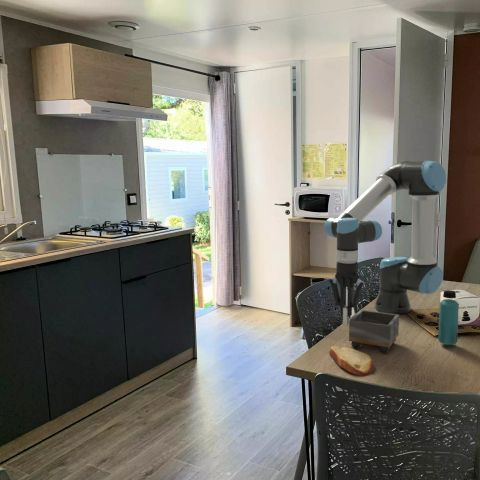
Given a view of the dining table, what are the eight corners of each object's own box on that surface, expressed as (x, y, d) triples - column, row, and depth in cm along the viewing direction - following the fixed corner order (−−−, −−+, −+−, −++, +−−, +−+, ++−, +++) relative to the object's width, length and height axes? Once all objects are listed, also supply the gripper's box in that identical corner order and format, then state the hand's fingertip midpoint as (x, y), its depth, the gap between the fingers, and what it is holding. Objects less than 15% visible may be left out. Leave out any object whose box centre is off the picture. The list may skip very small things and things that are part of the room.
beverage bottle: (459, 349, 174) (462, 293, 171) (439, 348, 176) (441, 293, 173) (455, 342, 181) (458, 289, 178) (435, 341, 182) (438, 288, 179)
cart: (360, 336, 189) (360, 309, 187) (398, 342, 182) (399, 314, 180) (348, 348, 177) (349, 320, 175) (389, 355, 170) (390, 326, 168)
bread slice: (332, 349, 178) (332, 339, 177) (383, 358, 169) (383, 347, 168) (313, 368, 162) (313, 357, 162) (368, 379, 153) (368, 367, 153)
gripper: (326, 261, 179) (325, 324, 183) (362, 264, 173) (360, 330, 177) (333, 257, 186) (332, 318, 190) (368, 260, 179) (366, 324, 183)
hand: (346, 324), depth 183 cm, fingers closed
